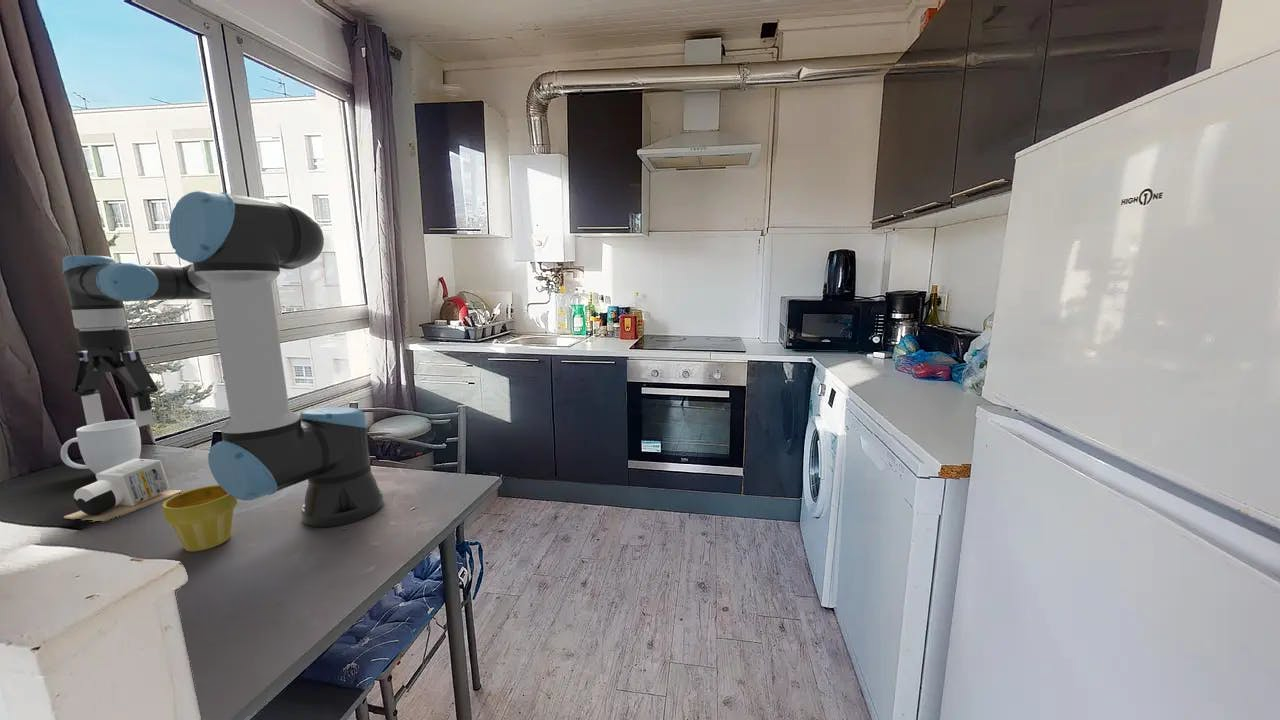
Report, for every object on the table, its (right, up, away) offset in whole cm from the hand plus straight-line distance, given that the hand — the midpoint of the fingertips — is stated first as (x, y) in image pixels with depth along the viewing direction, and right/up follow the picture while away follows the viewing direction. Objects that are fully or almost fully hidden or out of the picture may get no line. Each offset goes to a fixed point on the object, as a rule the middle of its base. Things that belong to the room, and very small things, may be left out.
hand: (120, 424), depth 105 cm
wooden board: (-2, -19, +3) cm, 19 cm away
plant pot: (+32, -21, -14) cm, 41 cm away
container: (0, -13, +8) cm, 15 cm away
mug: (-27, -16, +22) cm, 38 cm away
